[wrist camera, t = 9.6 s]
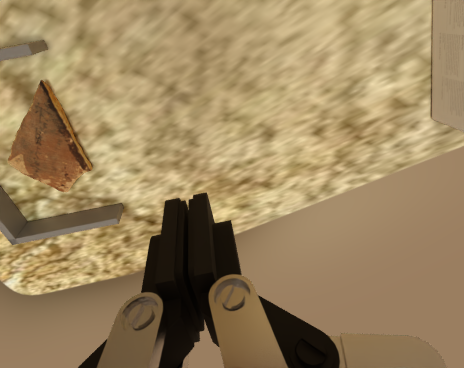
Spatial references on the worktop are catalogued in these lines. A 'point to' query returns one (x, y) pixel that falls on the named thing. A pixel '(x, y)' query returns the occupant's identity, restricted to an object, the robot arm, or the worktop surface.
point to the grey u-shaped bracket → (19, 230)
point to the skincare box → (448, 63)
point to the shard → (48, 144)
